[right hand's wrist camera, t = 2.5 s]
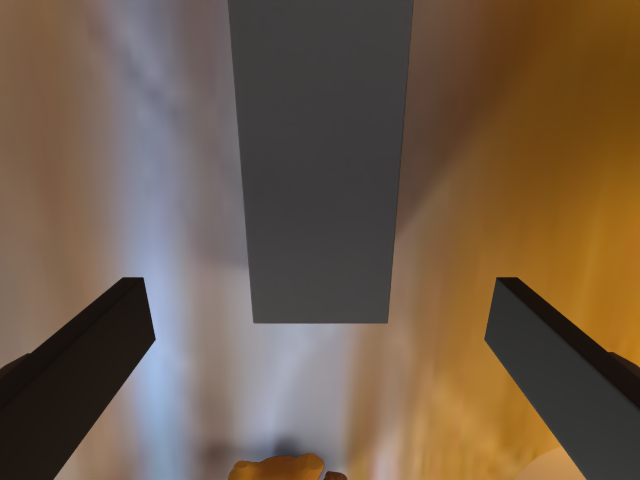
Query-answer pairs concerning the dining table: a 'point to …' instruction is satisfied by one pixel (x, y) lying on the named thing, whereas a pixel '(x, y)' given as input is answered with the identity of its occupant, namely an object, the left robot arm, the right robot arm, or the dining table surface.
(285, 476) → the toy
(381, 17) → the long gray bar
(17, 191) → the dining table surface
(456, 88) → the dining table surface
